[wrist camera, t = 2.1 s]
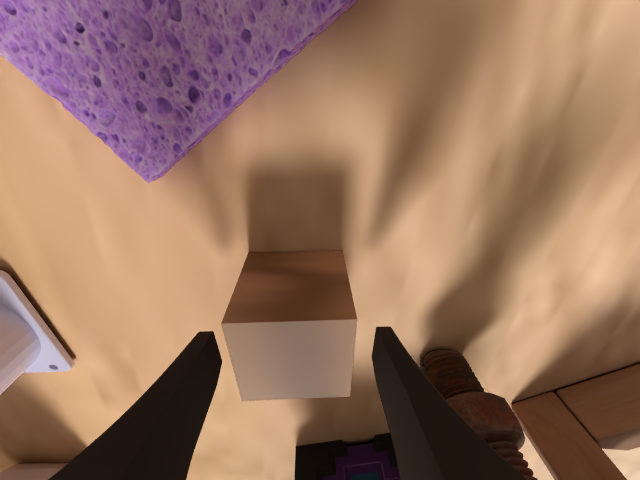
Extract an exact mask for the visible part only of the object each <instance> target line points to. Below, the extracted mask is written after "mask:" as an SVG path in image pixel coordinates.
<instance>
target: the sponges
mask: <svg viewBox="0 0 640 480" xmlns="http://www.w3.org/2000/svg"><path fill="white" fill-rule="evenodd" d="M357 1H358V0H0V54H1V55H2V56H3V57H4V58H5V59H6V60H7V61H9V62H10V63H11V64H13V65H14V66H15V67H16V68H17V69H18V70H20V71H21V72H22V73H23V74H24V75H25V76H26V77H28V78H29V79H30V80H32V81H33V82H34V83H35V84H36V85H37V86H38V87H39V88H40V89H41V90H43V91H44V92H45V93H47V94H48V95H50V96H52V97H54V98H56V99H57V100H59V101H60V102H61V103H62V104H63V106H64V108H65V109H66V110H68V111H70V112H71V113H72V115H73V116H74V117H75V118H76V119H78V120H79V121H80V122H82V123H84V124H85V125H86V126H87V127H88V129H89V130H90V132H91V133H93V134H94V135H96V136H98V137H99V138H100V139H102V140H103V142H104V143H105V144H106V145H107V146H109V147H110V148H111V149H112V150H113V151H114V153H115V154H116V155H117V156H118V157H119V158H121V159H122V160H123V161H124V162H125V163H126V164H127V165H128V166H129V167H130V168H132V169H133V170H134V171H135V172H136V173H138V174H139V175H140V176H141V177H142V178H143V179H144V180H145V181H146V182H148V183H150V182H151V181H155V180H156V179H158V178H161V177H162V176H163V175H164V174H165V173H166V172H167V171H168V170H169V169H171V167H172V166H173V165H174V164H175V163H176V162H178V161H179V160H180V159H181V158H182V157H184V156H185V155H186V154H187V153H188V152H189V151H190V149H191V148H192V147H193V146H195V145H196V144H198V143H199V142H200V141H202V139H203V138H204V137H205V136H207V134H208V133H209V132H210V131H211V130H213V129H214V128H215V127H216V126H217V125H218V124H219V123H220V122H221V121H222V120H224V119H225V118H226V117H227V116H228V115H229V114H231V112H232V111H233V110H234V109H235V108H236V107H238V106H239V105H241V104H242V103H243V102H244V101H245V100H246V99H247V98H248V97H249V96H250V95H252V94H253V93H254V92H255V91H256V90H257V89H258V88H259V87H260V86H261V85H262V84H264V83H265V82H266V81H267V80H268V79H269V78H270V77H271V76H272V75H274V74H275V73H276V72H277V71H278V70H280V69H281V68H282V67H283V66H284V65H285V64H286V63H287V62H288V61H289V60H290V59H291V58H293V57H294V56H295V55H297V54H298V53H299V52H300V51H301V50H302V49H303V47H305V46H306V45H307V44H308V43H309V42H310V41H312V40H313V39H314V38H315V37H316V36H317V35H319V34H320V33H322V32H323V31H324V30H325V29H326V28H327V27H328V26H329V25H331V24H332V23H333V22H334V21H335V20H336V19H337V18H339V17H340V16H341V15H342V14H343V13H344V12H345V11H346V10H347V9H349V8H350V7H351V6H352V5H353V4H355V3H356V2H357Z"/></svg>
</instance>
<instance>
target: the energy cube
mask: <svg viewBox="0 0 640 480" xmlns="http://www.w3.org/2000/svg"><path fill="white" fill-rule="evenodd" d="M295 480H401V479H400V474H399V469H398V464H397V459H396V454H395V449H394V445H393V441H392V437H391V433H386V434H378V435H375V437H374V440H373V443H369V444H363V445H355V446H348V447H347V446H346V445H345V444H344V443H343V442H342V440H337V441H330V442H323V443H316V444H309V445H302V446H296V457H295Z"/></svg>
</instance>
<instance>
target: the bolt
mask: <svg viewBox="0 0 640 480" xmlns="http://www.w3.org/2000/svg"><path fill="white" fill-rule="evenodd" d="M420 369H421V371H422V372H423V373H424V375H425V376H426V377H427V378H428V380H429V381H430V382H431V383H432V385H433V386H434V387H435V388H436V389H437V391H438V392H439V393H440V394H441V395H442V396H443V398H444V399H445V400H446V401H447V402H448V403H449V404H450V405H451V407H452V408H453V409H454V410H455V411H456V412H457V413H458V414H459V415H460V416H461V417H462V418H463V419H464V420H465V422H466V423H467V424H468V425H469V426H470V427H471V428H472V429H473V430H474V431H475V432H476V433H477V434H478V435H479V436H480V437H481V438H482V439H484V440H485V441H486V442H487V443H488V444H489V445H490V446H491V447H492V448H493V449H494V450H495V451H496V452H497V453H498V454H499V455H501V456H502V457H503V458H504V459H505V460H506V461H507V462H508V463H509V464H510V465H511V466H513V467H514V468H515V469H516V470H517V471H518V472H519V473H520V474H522V475H523V476H524V477H525V478H526V479H527V480H537V478H535V477H532V476H533V471H532V470H531V469H530V468H527V467H528V462H527V461H525V460H523V454H522V453H521V452H519V451H518V450H519V449H520V448H521V447H522V446H523V444H524V442H525V436H524V433H523V430H522V427H521V425H520V423H519V420H518V419H517V417H516V416H515V414H514V412H513V411H512V409H511V408H510V406H509V405H508V403H507V402H506V400H505V398H502V397H500V396H497V395H495V394H492V393H486V392H484V389H483V388H482V387H481V385H480V382H479V381H478V379H477V378H476V377H475V374H474V373H473V372H472V369H471V367H469V364H468V363H467V361H466V359H465V358H464V356H463V355H462V354H460V353H459V352H456V351H451V350H436V351H431V352H430V353H428V354H426V356H425V360H424V361H423V363H421V367H420Z"/></svg>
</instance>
